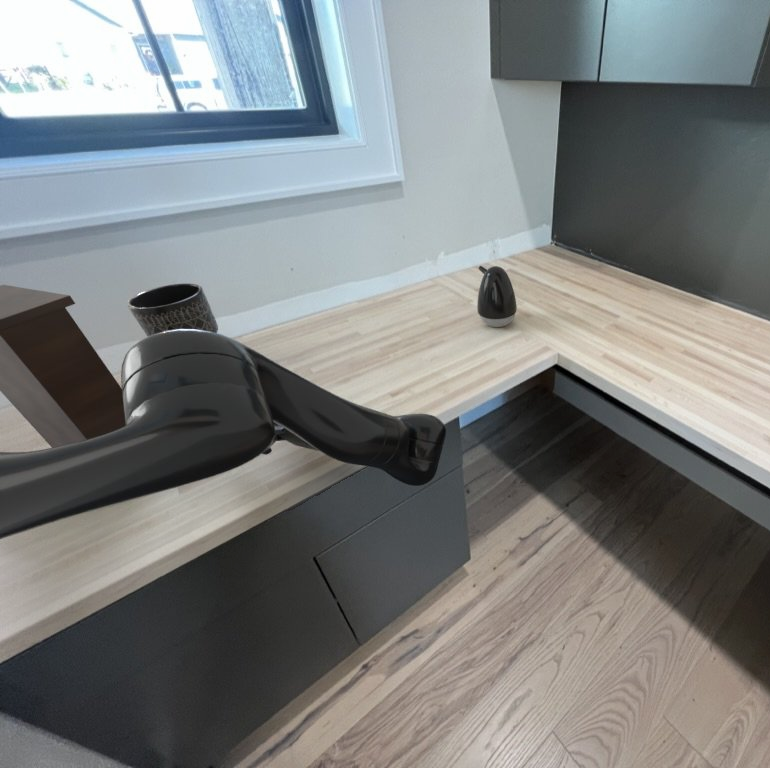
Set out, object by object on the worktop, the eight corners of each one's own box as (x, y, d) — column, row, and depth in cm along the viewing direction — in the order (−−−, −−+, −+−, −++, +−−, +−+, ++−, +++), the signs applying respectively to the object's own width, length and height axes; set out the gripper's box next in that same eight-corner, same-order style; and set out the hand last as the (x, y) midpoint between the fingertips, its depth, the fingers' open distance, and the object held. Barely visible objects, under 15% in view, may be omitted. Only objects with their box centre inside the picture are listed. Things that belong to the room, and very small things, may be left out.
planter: (171, 391, 88) (124, 314, 78) (169, 364, 97) (127, 293, 87) (239, 370, 94) (204, 297, 84) (232, 347, 103) (199, 278, 93)
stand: (68, 479, 68) (-89, 311, 51) (124, 442, 75) (3, 284, 58) (127, 499, 65) (-20, 326, 47) (181, 459, 72) (70, 295, 54)
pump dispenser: (495, 310, 117) (492, 256, 108) (524, 320, 111) (524, 264, 102) (469, 324, 110) (464, 268, 101) (500, 335, 105) (497, 277, 96)
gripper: (348, 384, 70) (271, 369, 74) (285, 439, 59) (200, 419, 63) (358, 418, 74) (285, 403, 79) (302, 476, 63) (221, 454, 68)
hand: (247, 410), depth 71 cm, fingers open, 8 cm apart
